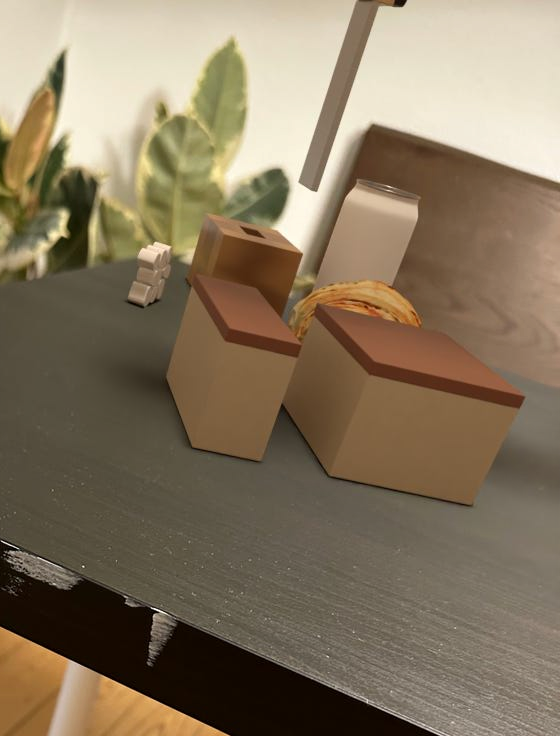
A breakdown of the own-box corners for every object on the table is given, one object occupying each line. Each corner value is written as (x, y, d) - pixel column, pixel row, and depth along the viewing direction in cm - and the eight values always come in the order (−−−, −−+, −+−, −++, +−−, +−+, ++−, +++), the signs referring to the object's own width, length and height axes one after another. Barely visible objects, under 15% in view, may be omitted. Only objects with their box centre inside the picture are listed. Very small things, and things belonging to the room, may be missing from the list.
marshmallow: (142, 308, 77) (157, 250, 75) (126, 302, 77) (140, 245, 75) (162, 300, 81) (177, 245, 79) (147, 294, 81) (161, 240, 79)
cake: (403, 429, 65) (445, 333, 62) (471, 506, 55) (526, 396, 52) (281, 402, 64) (316, 302, 60) (328, 476, 54) (374, 361, 50)
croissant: (354, 462, 67) (450, 383, 63) (255, 359, 66) (346, 270, 62) (366, 384, 85) (442, 318, 81) (288, 301, 84) (360, 229, 79)
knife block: (256, 296, 92) (277, 230, 89) (279, 324, 84) (303, 253, 80) (186, 279, 91) (205, 212, 88) (202, 306, 83) (224, 233, 79)
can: (358, 344, 84) (414, 199, 78) (292, 319, 87) (341, 176, 80) (379, 336, 89) (434, 199, 83) (316, 313, 92) (365, 178, 85)
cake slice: (224, 390, 63) (256, 288, 59) (261, 462, 53) (303, 344, 49) (165, 377, 62) (195, 273, 59) (191, 447, 52) (229, 327, 49)
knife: (317, 187, 56) (415, -109, 49) (330, 195, 53) (436, -116, 46) (284, 179, 56) (378, -121, 48) (297, 187, 53) (398, -128, 46)
